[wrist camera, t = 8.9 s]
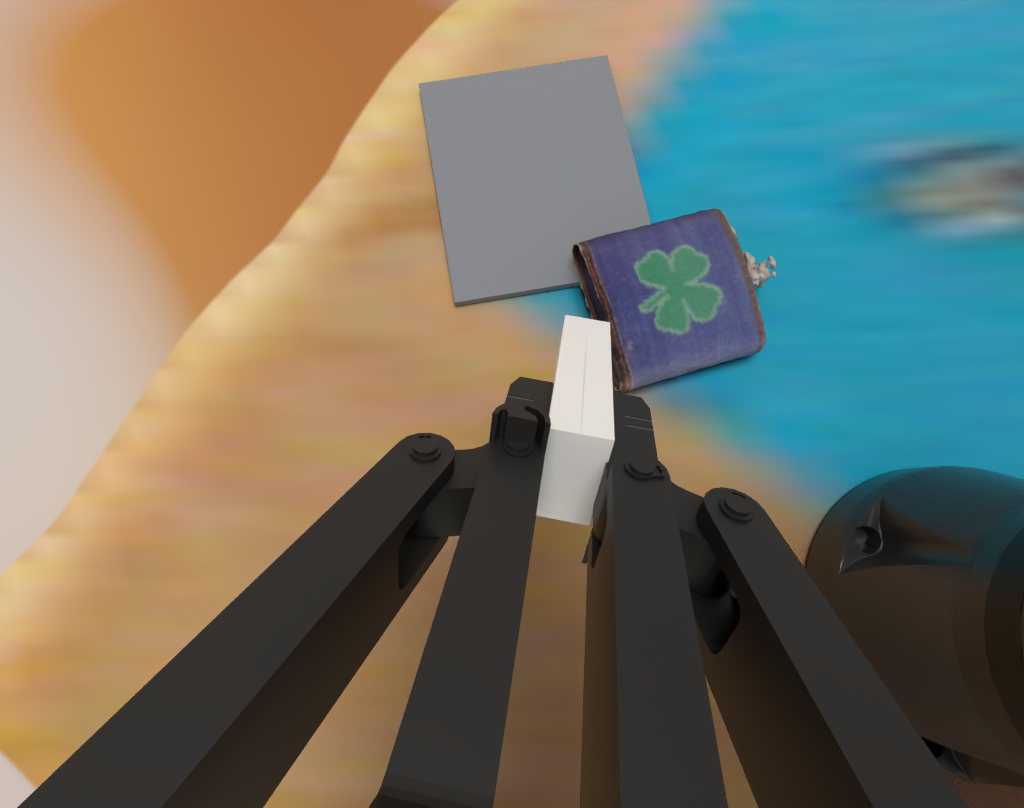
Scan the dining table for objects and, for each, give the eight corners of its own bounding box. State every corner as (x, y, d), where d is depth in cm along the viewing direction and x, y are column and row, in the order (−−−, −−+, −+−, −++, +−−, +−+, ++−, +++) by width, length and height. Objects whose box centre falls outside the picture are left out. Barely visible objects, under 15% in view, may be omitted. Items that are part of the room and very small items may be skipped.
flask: (613, 396, 29) (780, 348, 30) (626, 389, 26) (810, 336, 27) (568, 254, 30) (731, 209, 31) (575, 232, 27) (754, 183, 28)
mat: (659, 272, 31) (662, 268, 30) (455, 306, 30) (454, 302, 30) (605, 63, 34) (607, 55, 33) (420, 91, 33) (418, 83, 33)
